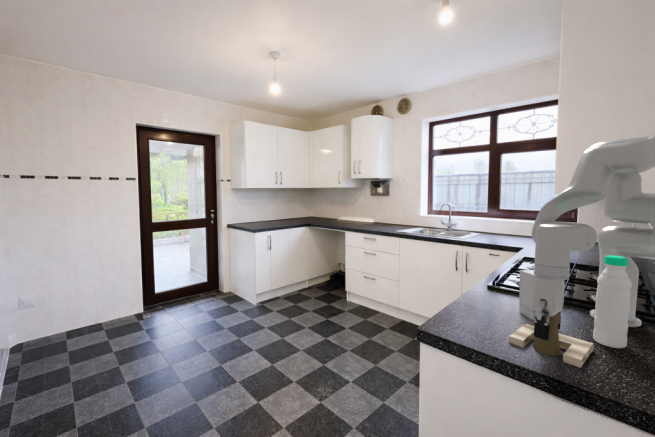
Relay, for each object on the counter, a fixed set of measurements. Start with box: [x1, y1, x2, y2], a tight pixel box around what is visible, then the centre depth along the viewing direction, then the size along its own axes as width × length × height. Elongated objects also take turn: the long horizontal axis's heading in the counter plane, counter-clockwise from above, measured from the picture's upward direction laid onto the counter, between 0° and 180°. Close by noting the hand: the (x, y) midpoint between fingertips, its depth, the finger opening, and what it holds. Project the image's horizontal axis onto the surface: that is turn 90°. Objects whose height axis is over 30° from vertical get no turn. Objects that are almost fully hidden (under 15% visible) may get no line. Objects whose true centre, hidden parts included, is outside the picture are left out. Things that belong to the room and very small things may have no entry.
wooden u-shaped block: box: [508, 323, 594, 368], centre depth 84 cm, size 13×16×2 cm
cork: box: [532, 311, 562, 357], centre depth 82 cm, size 6×6×11 cm
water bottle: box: [592, 255, 632, 349], centre depth 85 cm, size 7×7×25 cm
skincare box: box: [518, 269, 536, 322], centre depth 104 cm, size 8×7×16 cm
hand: (547, 332), depth 82 cm, fingers open, 9 cm apart
